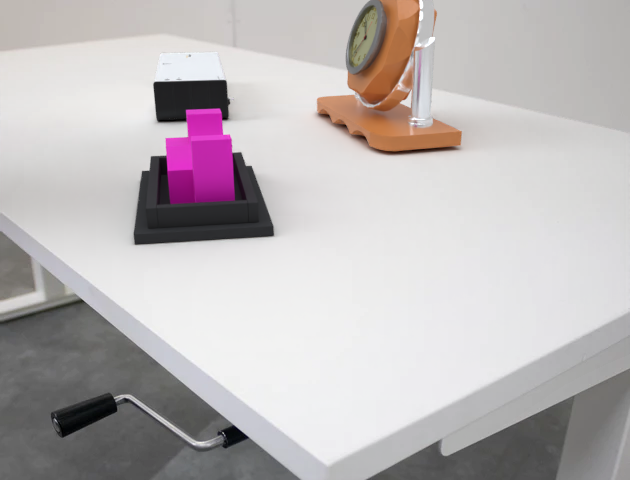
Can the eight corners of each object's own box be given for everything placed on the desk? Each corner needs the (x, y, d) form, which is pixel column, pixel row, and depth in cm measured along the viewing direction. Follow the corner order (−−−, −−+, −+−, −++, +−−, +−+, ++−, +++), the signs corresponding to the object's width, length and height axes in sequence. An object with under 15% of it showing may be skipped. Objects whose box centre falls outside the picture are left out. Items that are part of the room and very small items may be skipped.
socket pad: (134, 244, 70) (131, 213, 69) (142, 178, 90) (140, 153, 88) (273, 235, 72) (272, 205, 71) (252, 173, 92) (251, 148, 90)
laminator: (162, 86, 147) (159, 52, 145) (225, 84, 149) (224, 51, 146) (156, 123, 117) (152, 81, 114) (236, 120, 119) (234, 79, 116)
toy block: (169, 177, 87) (162, 110, 83) (223, 174, 88) (219, 108, 84) (171, 219, 73) (164, 142, 70) (235, 215, 74) (231, 139, 71)
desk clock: (380, 107, 128) (384, -23, 119) (463, 148, 102) (477, -14, 93) (311, 112, 124) (310, -22, 116) (379, 156, 99) (385, -12, 90)
